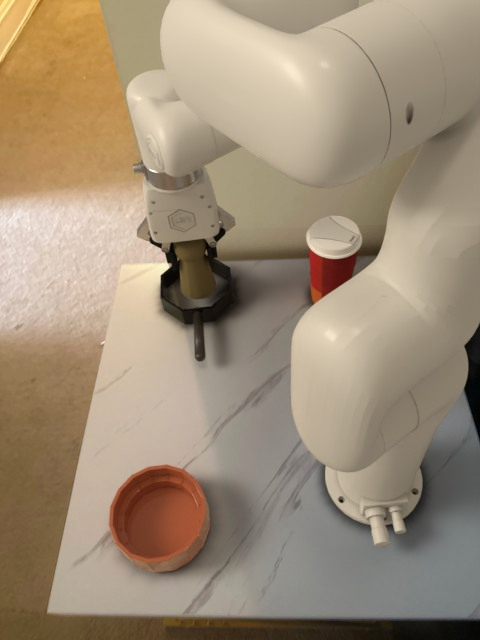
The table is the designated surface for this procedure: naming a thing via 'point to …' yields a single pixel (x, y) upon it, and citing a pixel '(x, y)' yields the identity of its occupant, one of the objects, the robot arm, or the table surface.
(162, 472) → the bowl
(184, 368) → the table surface
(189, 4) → the robot arm
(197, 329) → the pan
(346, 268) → the coffee cup
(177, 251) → the olive rounded piece
